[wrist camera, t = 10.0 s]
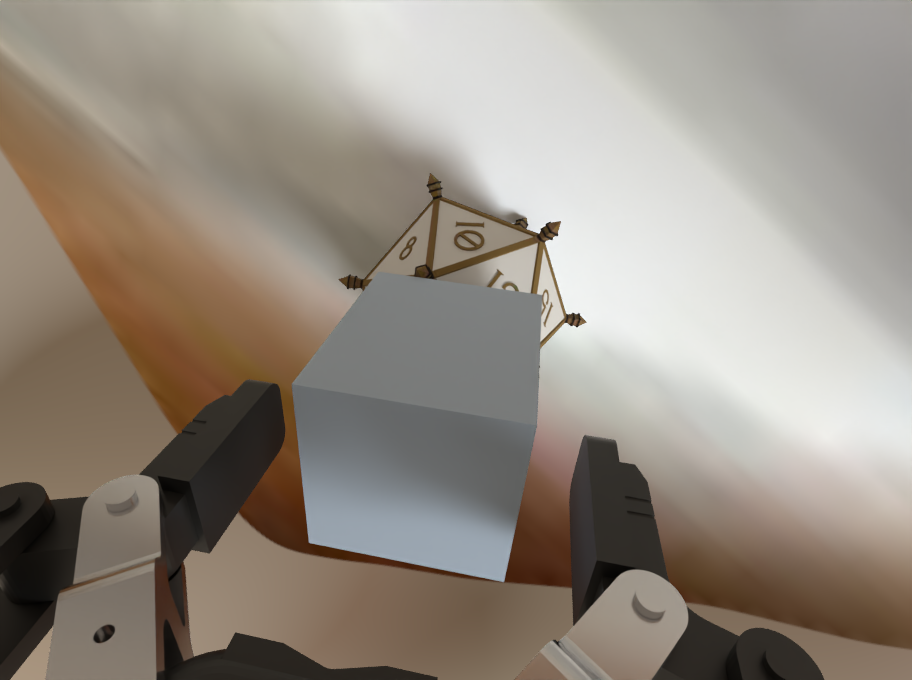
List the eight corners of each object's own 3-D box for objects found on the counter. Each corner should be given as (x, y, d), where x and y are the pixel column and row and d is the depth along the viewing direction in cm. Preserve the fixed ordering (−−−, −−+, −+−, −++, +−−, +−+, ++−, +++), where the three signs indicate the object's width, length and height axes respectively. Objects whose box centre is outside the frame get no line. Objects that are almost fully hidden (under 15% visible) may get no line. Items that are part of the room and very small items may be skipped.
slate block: (542, 294, 15) (536, 425, 10) (518, 424, 17) (504, 581, 12) (378, 271, 15) (292, 384, 10) (378, 401, 18) (308, 542, 13)
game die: (475, 271, 27) (365, 421, 24) (411, 129, 21) (249, 299, 17) (637, 303, 22) (530, 503, 18) (613, 127, 16) (446, 369, 12)
